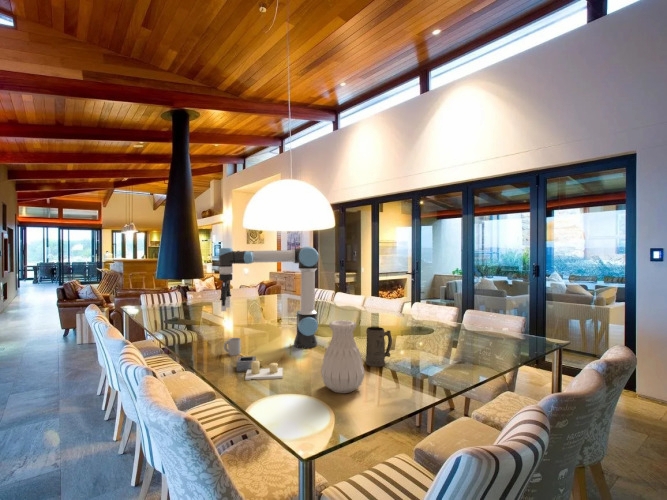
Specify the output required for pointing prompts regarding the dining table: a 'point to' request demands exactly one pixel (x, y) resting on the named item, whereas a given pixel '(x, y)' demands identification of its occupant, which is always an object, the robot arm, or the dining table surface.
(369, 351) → the beer stein
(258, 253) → the robot arm
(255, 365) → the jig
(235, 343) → the cup
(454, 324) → the dining table surface
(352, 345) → the vase
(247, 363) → the collar
